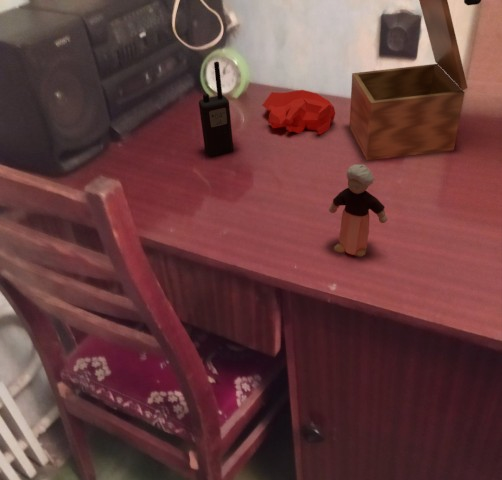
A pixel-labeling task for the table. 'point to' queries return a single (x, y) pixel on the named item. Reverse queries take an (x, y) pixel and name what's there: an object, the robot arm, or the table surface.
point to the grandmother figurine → (356, 211)
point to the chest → (405, 111)
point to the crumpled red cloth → (299, 111)
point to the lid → (443, 39)
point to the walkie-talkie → (216, 121)
